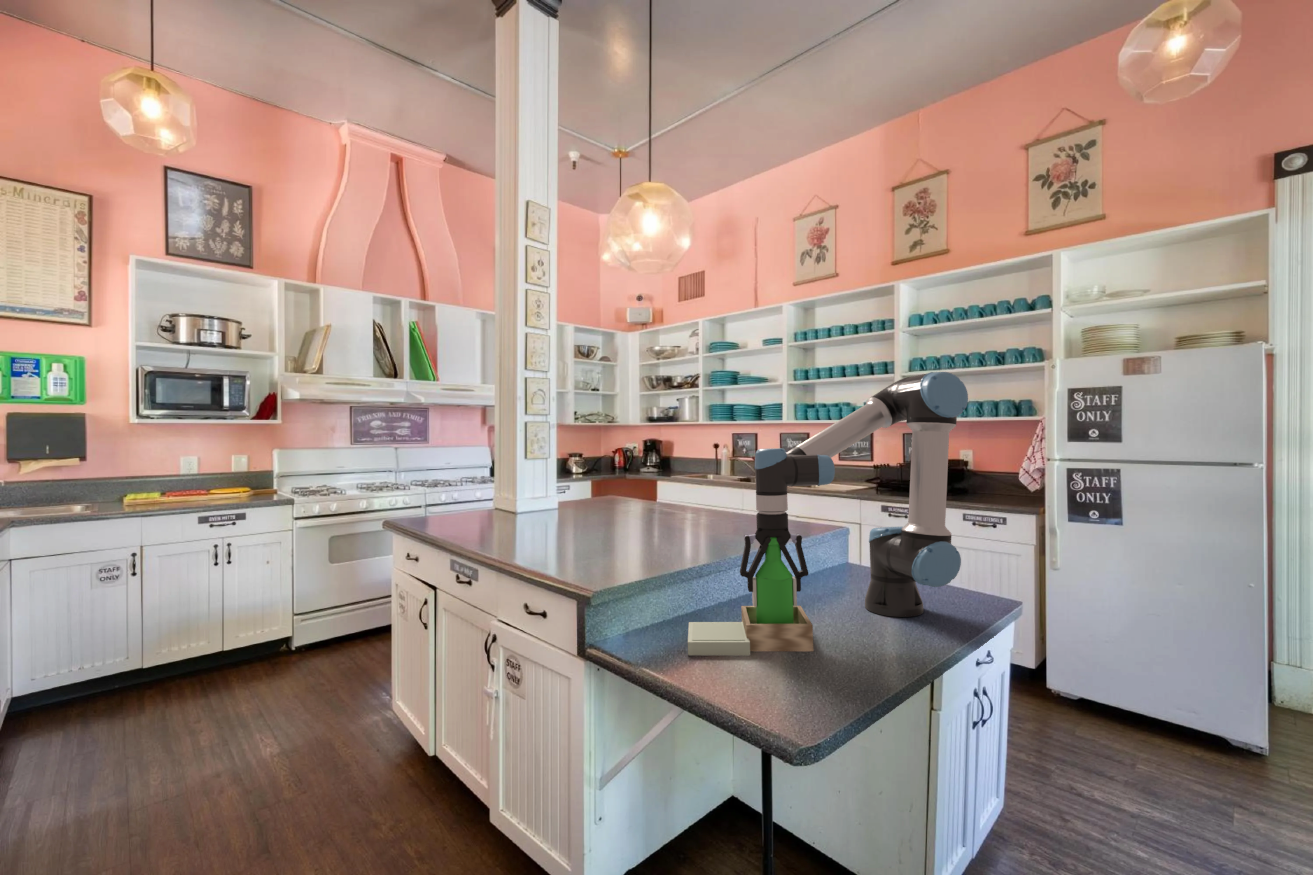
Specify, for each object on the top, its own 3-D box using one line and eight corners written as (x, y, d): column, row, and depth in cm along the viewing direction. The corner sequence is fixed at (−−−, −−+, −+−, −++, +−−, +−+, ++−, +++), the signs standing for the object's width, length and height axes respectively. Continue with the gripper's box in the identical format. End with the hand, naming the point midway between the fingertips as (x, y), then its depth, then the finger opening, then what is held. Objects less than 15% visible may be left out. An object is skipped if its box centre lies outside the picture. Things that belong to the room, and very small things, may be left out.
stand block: (745, 633, 140) (744, 621, 140) (750, 655, 126) (749, 641, 126) (689, 633, 141) (688, 621, 141) (688, 655, 127) (687, 641, 127)
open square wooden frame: (801, 629, 142) (800, 605, 142) (813, 651, 127) (812, 625, 127) (741, 629, 143) (741, 605, 143) (747, 651, 128) (746, 625, 129)
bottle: (784, 648, 129) (781, 540, 129) (750, 641, 135) (748, 537, 135) (799, 637, 136) (797, 535, 136) (767, 631, 142) (764, 532, 142)
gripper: (814, 509, 139) (816, 600, 138) (726, 510, 140) (728, 600, 140) (820, 513, 131) (823, 609, 131) (728, 514, 133) (730, 609, 133)
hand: (774, 604), depth 135 cm, fingers closed on bottle, 9 cm apart
